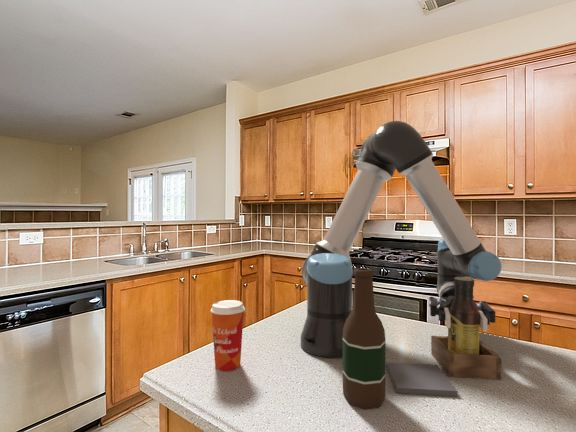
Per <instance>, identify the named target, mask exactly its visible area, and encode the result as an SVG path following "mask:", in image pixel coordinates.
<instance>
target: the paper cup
mask: <svg viewBox="0 0 576 432" xmlns="http://www.w3.org/2000/svg"><path fill="white" fill-rule="evenodd" d="M245 311H246V308H245V306H244V304H243V302H242V301H241V300H235V299H234V300H233V299H226V300H219V301H217V302H214V303H212V305H211V308H210V313H211V318H212V319H211V321H212V322H211V323H212V336H213V337H212V338H213V352H214V353H213V355H214V367H215V369H216V370H218V371H221V372H232V371H236V370H237V369H239V368H240V366H241V361H242V359H241V358H242V343H243V326H244V325H243V324H244V312H245Z"/></svg>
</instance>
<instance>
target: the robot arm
mask: <svg viewBox="0 0 576 432" xmlns="http://www.w3.org/2000/svg"><path fill="white" fill-rule="evenodd" d="M433 156H434V153H433V152H432V150H431V149H430V147H429V145H428V143H427V142H426V140H425V139H424V138H423V136H422V135H421V134H420V133H419V132H418V131H417V129H416V128H414V126H412V125H410V124H409V123H407V122H406V121H405V122H404V121H401V120H392V121H388V122H386V123H384V124H382V125H380V126H379V128H378V129H377V130H376V131H374V132H373V133H371V134H370V135H369V136H368V137H367V138H366V139H365V140H364V142H363V143H362V145H361V149H360V154H359V156H358V159H357V161H356V162H355V166H356V169H357V171H356V173H355V176H354V178H353V179H352V181H351V184H350V185H349V187H348V189H347V192H346V193H345V196H344V197H343V200H342V201H341V203H340V206H339V208H338V210H337V211H336V213H335V216H334V218H333V220H332V222H331V223H330V226H329V228H328V229H327V232H326V234H325V236H324V237H323V239H322V240H320V241H316V243H315V244H314V247H313V248H312V251H311V252H310V255H308V257H306V259H305V260H304V262H303V265H302V269H301V275H302V279H303V282H304V284H305V285H306V289H307V290H306V293H307V294H306V295H307V297H306V298H307V300H306V301H307V303H306V304H307V305H306V306H307V307H306V308H307V309H306V310H307V311H306V318H305V322H304V325H303V327H302V331H301V334H300V347H301V349H302V350H303V351H305V352H307V353H308V354H311V355H313V356H317V357H322V358H343V327H344V325H345V322H346V319H347V318H348V317H349V315H350V314H351V312H352V308H353V276H354V275H353V273H354V269H353V264H352V259H351V256H350V251H351V249H352V247H353V245H354V243H355V241H356V240H357V237H358V235H359V233H360V231H361V229H362V227H363V225H364V223H365V221H366V219H367V217H368V215H369V213H370V211H371V208H372V207H373V205H374V203H375V201H376V198H377V197H378V194H379V193H380V191H381V189H382V187H383V185H384V183H385V182H387V181H391V180H392V178H393V176H394V174H395V172H396V171H397V173H398V174H399V175H402V176H404V177H405V178H406V180H407V181H408V183H409V185H410V186H411V188H412V189H413V191H414V193H415V194H416V196H417V198H418V199H419V201H420V203H421V205H422V206H423V208H424V210H425V211H426V212H427V214H428V216H429V218H430V219H431V220H432V222H433V224H434V225H435V227H436V229H437V231H438V232H439V235H440V236H441V237H442V239H440V240H439V241H438V242H437V251H436V253H437V284H436V293H437V295H438V296H439V299H438V298H436V297H434V296H429V297H428V299H429V300H428V301H429V302H428V306H429V309H430V310H429V311H430V312H429V314H430V317H434V318H435V317H436V316H438V321H440V322H444V323H445V327H446V329H448V328H451V316H450V313H449V308H450V305H451V303H452V300H453V298H454V294H455V284H454V278H455V277H468V278H472V279H474V280H476V281H483V282H490V281H492V280H496V278H498V276H500V274H501V271H502V269H503V268H502V267H503V266H502V261H501V259H500V258H499V256H498V255H496V254H495V253H493V252H491V251H487V250H486V248H485V247H484V245H483V243H482V242H481V240H480V239H479V237H478V236H477V233H476V232H475V230H474V229H473V227H472V225H471V223H470V222H469V220H468V219H467V217H466V215H465V214H464V212H463V210H462V209H461V207H460V205H459V203H458V202H457V200H456V199H455V197H454V196H453V193H452V192H451V191H450V188H449V187H448V185H447V183H446V181H445V180H444V179H443V177H442V175H441V174H440V172H439V170H438V169H437V167H436V165H435V163H434V162H433V160H432V159H433ZM474 302H475V303H476V301H475V300H474ZM476 304H477V307H478V309H479V328H481V331H482V332H483V333H488V326H490V324H494V323H496V310H495V309H494V308H492V307H491V306H490V305H489V304H488V301H485V300H482V301H479V302H477V303H476Z"/></svg>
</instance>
